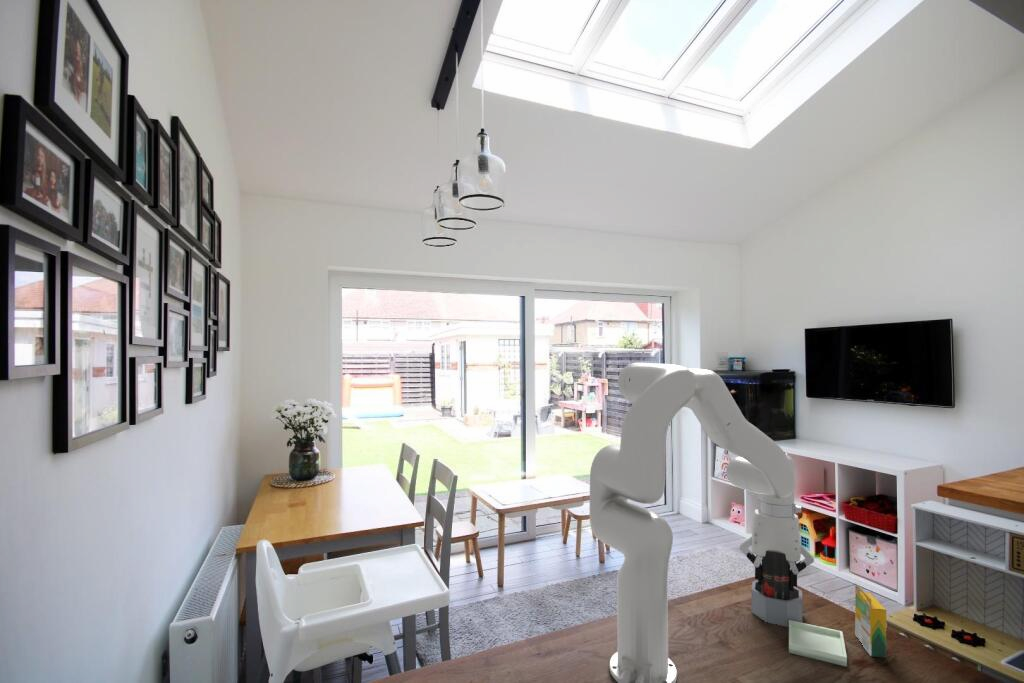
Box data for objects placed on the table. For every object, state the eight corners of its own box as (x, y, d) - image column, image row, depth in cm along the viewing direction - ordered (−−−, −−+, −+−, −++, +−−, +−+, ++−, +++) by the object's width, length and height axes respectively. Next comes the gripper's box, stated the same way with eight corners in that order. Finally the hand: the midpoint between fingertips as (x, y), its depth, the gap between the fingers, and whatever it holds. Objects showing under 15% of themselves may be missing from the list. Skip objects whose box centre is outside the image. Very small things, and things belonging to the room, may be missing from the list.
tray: (846, 666, 102) (846, 657, 102) (788, 652, 107) (788, 643, 107) (842, 639, 111) (842, 631, 111) (788, 627, 116) (788, 619, 116)
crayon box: (887, 658, 105) (887, 600, 105) (870, 657, 105) (870, 599, 105) (870, 637, 112) (869, 583, 112) (854, 636, 113) (854, 582, 112)
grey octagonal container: (802, 630, 115) (802, 605, 115) (750, 618, 120) (750, 594, 120) (801, 608, 124) (801, 584, 124) (753, 598, 129) (753, 575, 129)
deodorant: (795, 620, 119) (795, 554, 119) (768, 620, 119) (768, 554, 119) (782, 606, 125) (782, 543, 125) (757, 606, 125) (757, 543, 125)
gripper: (818, 509, 121) (818, 587, 121) (736, 498, 129) (736, 571, 129) (819, 519, 114) (819, 601, 114) (734, 507, 122) (734, 584, 122)
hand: (775, 585), depth 122 cm, fingers closed on deodorant, 6 cm apart
